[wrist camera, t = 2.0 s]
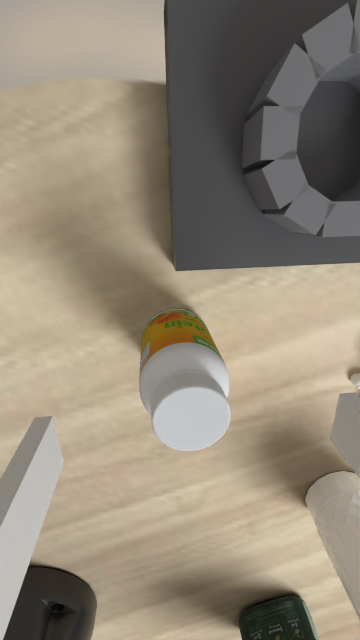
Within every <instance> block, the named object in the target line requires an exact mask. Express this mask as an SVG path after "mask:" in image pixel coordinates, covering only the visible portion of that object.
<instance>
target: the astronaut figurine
mask: <svg viewBox="0 0 360 640" xmlns="http://www.w3.org/2000/svg"><path fill="white" fill-rule="evenodd" d="M350 381H351V382H352V383H353V384H354V385H355V386H356V387H357V388H358V389H360V373H355V374H353V375H352V376H351V378H350Z"/></svg>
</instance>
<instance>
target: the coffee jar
mask: <svg viewBox="0 0 360 640" xmlns="http://www.w3.org/2000/svg"><path fill="white" fill-rule="evenodd" d="M239 628H240V632H241V637H242V640H320V639H319V636H318V633H317V631H316V628H315V625H314V622H313V619H312V617H311V614H310V612H309V610H308V607H307V605H306V603H305V602H304V601H303V600H301V599H299V598H297V597H295V596H287V597H282V598H278V599H275V600H272V601H268V602H265V603H262V604H260V605H257V606H254V607H251V608H249V609H247V610H246V611H245V612H244V613H243V615H242V616H241V618H240V621H239Z"/></svg>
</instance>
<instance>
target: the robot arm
mask: <svg viewBox="0 0 360 640" xmlns="http://www.w3.org/2000/svg"><path fill="white" fill-rule="evenodd" d="M330 440H331V441H332V443H333V444H334V445H335V446H336V448H337V449H338V450H339V452H340V453H341V454H342V456H343V457H344V458H345V460H346V461H347V462H348V464H349V465H350V466H351V467H352V469H353V470H354V471H355V473H356V474H357V475H358V477H359V478H360V396H359V395H357V394H356V393H344V394H340V395H339V400H338V405H337V409H336V414H335V418H334V423H333V428H332V432H331V437H330ZM63 464H64V461H63V457H62V453H61V448H60V444H59V440H58V436H57V431H56V427H55V423H54V419H53V416H48V417H36V418H34V420H33V422H32V424H31V425H30V427H29V429H28V431H27V433H26V434H25V436H24V438H23V440H22V441H21V443H20V445H19V447H18V449H17V450H16V452H15V454H14V456H13V458H12V459H11V461H10V463H9V465H8V467H7V468H6V470H5V472H4V474H3V476H2V477H1V479H0V640H91V637H92V633H93V629H94V623H95V615H96V608H97V601H96V597H95V594H94V593H93V591H92V590H91V588H90V587H89V586H88V585H87V584H86V583H84V582H83V581H82V580H80V579H78V578H77V577H75V576H73V575H70V574H68V573H65V572H62V571H58V570H54V569H48V568H38V567H28V566H29V563H30V560H31V557H32V554H33V551H34V548H35V545H36V543H37V540H38V537H39V534H40V531H41V528H42V525H43V522H44V519H45V517H46V514H47V511H48V508H49V505H50V502H51V499H52V496H53V493H54V490H55V488H56V485H57V482H58V479H59V476H60V473H61V470H62V467H63Z"/></svg>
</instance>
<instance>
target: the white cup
mask: <svg viewBox="0 0 360 640" xmlns="http://www.w3.org/2000/svg"><path fill="white" fill-rule="evenodd" d="M305 501H306V505H307V508H308V511H309V513H310V515H311V517H312V519H313V521H314V523H315V525H316V527H317V531H318V534H319V536H320V538H321V540H322V542H323V545H324V547H325V549H326V551H327V554H328V556H329V558H330V560H331V562H332V564H333V566H334V568H335V570H336V572H337V575H338V577H339V579H340V581H341V583H342V585H343V587H344V589H345V591H346V593H347V595H348V597H349V600H350V602H351V604H352V606H353V608H354V610H355V612H356V614H357V616H358V619H359V621H360V478H359V477H358V475H357V474H356V473H352V472H347V471H339V472H334V473H329V474H327V475H325V476H323V477H322V478H320V479H318V480H317V481H316V482H315V483H314V484H313V485H312V486H311V487H310V488H309V489H308V492H307V495H306V498H305Z"/></svg>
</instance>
